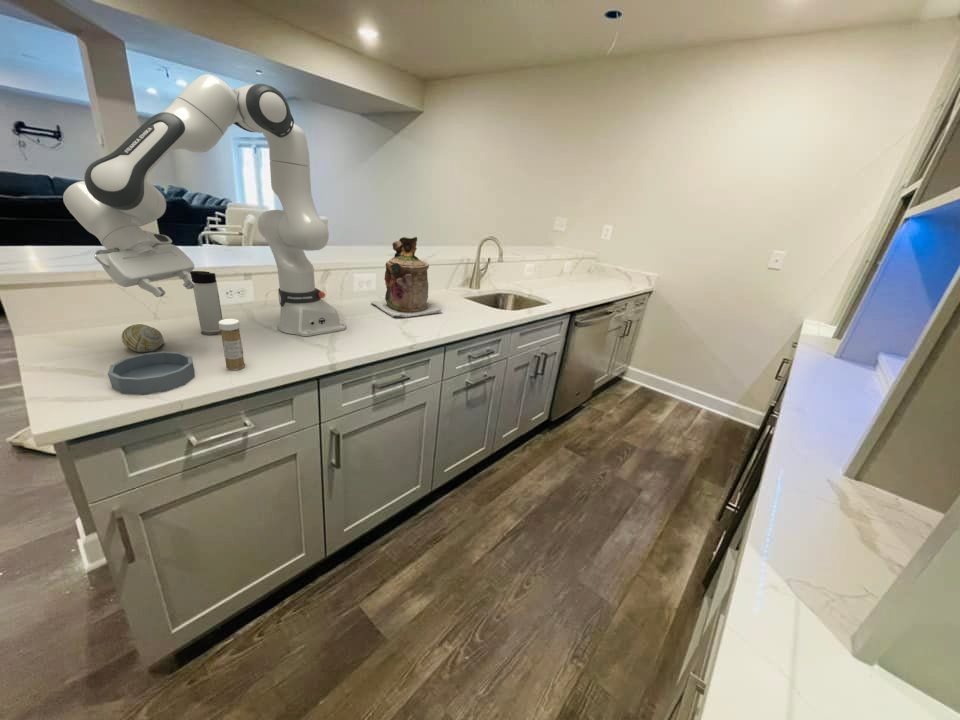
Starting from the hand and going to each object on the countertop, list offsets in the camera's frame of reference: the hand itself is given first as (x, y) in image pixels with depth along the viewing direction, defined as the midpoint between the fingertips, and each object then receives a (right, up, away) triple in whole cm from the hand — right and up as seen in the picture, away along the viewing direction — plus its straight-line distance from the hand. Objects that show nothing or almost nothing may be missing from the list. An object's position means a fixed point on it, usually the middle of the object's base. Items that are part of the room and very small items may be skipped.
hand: (177, 291), depth 98 cm
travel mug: (-10, -9, +27) cm, 30 cm away
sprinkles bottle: (+10, -20, +7) cm, 23 cm away
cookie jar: (+44, +5, +75) cm, 87 cm away
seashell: (-18, -14, +12) cm, 26 cm away
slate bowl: (-3, -22, -3) cm, 23 cm away
